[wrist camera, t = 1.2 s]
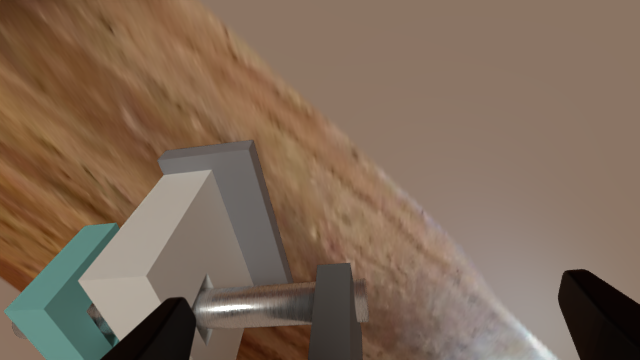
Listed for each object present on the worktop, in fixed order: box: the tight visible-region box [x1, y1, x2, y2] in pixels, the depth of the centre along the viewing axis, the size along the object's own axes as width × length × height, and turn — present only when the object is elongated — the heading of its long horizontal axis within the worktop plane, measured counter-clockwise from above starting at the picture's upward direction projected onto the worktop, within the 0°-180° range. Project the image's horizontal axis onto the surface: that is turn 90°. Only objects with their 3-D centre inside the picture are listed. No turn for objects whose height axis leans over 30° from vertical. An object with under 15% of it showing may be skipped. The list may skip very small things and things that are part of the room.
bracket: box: [78, 140, 293, 360], centre depth 21 cm, size 6×12×10 cm, turn 9°
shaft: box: [12, 263, 369, 360], centre depth 18 cm, size 19×5×7 cm, turn 99°
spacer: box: [4, 223, 120, 360], centre depth 21 cm, size 2×7×6 cm, turn 10°
